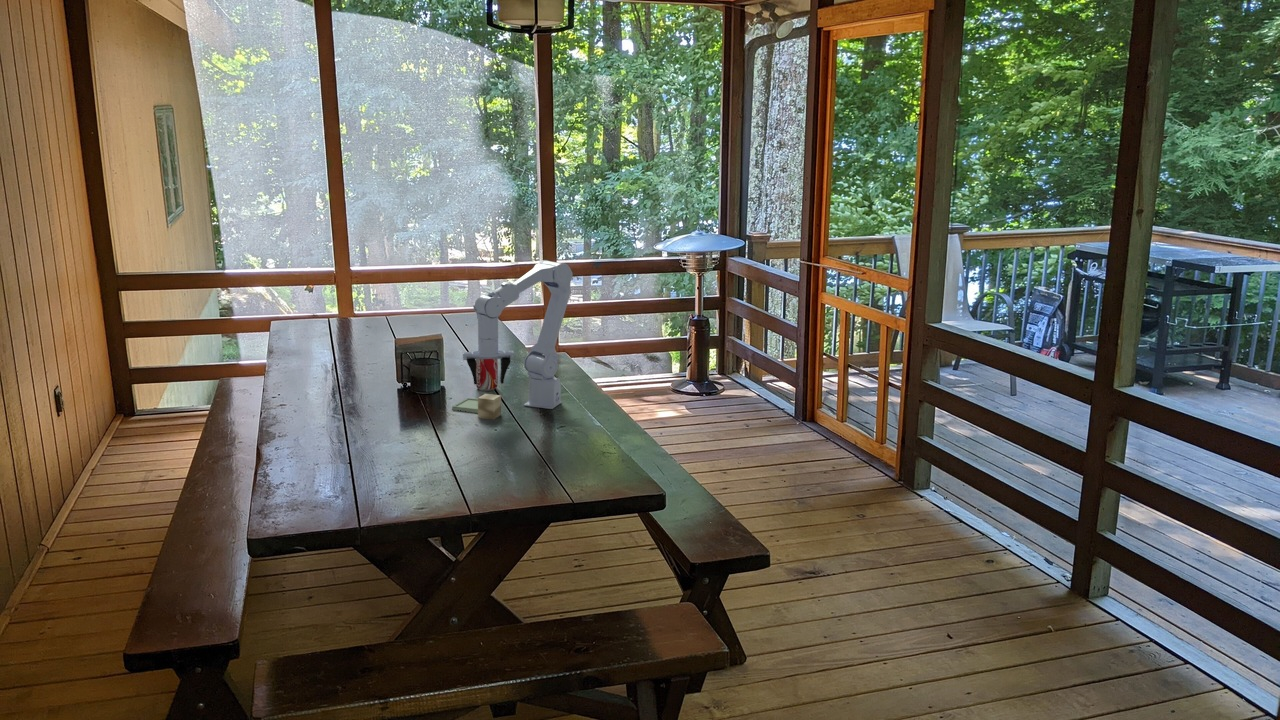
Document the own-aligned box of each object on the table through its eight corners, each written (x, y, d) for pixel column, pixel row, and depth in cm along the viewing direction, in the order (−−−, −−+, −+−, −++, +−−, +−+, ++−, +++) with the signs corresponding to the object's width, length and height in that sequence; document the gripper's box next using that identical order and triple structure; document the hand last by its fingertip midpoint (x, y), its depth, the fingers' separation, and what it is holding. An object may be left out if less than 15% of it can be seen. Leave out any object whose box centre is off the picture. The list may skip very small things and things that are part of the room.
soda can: (493, 392, 298) (493, 356, 295) (472, 390, 299) (472, 354, 296) (501, 387, 304) (500, 351, 301) (480, 385, 306) (480, 349, 303)
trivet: (497, 404, 284) (497, 401, 284) (482, 413, 275) (482, 410, 274) (467, 401, 287) (467, 397, 287) (452, 409, 277) (452, 406, 277)
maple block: (501, 415, 274) (501, 395, 273) (493, 419, 270) (493, 399, 268) (485, 413, 276) (485, 393, 274) (478, 417, 271) (477, 398, 269)
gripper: (512, 334, 273) (512, 378, 276) (461, 335, 269) (462, 380, 273) (514, 339, 266) (514, 384, 269) (463, 340, 263) (464, 386, 266)
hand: (488, 383), depth 271 cm, fingers open, 7 cm apart
